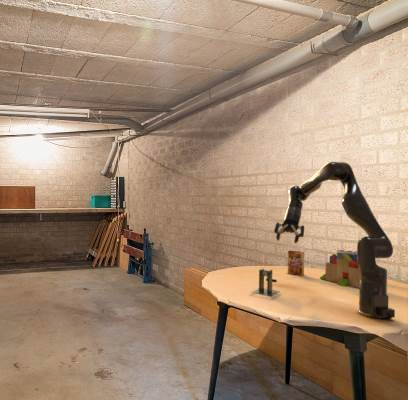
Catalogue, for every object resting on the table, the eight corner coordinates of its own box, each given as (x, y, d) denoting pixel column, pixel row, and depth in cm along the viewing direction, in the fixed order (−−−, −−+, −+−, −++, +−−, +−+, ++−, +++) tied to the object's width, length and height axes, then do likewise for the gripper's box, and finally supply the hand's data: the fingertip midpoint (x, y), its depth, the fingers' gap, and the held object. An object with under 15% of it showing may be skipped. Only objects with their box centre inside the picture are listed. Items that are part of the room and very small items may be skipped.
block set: (315, 279, 210) (316, 247, 210) (331, 277, 215) (332, 246, 215) (363, 291, 184) (364, 255, 184) (381, 288, 189) (381, 253, 189)
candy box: (287, 273, 226) (287, 250, 226) (289, 272, 229) (289, 249, 229) (302, 275, 219) (302, 252, 219) (304, 274, 222) (304, 251, 222)
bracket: (259, 290, 183) (260, 266, 183) (280, 294, 176) (280, 269, 176) (250, 295, 173) (251, 270, 173) (271, 299, 166) (272, 273, 166)
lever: (266, 282, 183) (267, 277, 183) (276, 283, 179) (277, 279, 180) (259, 273, 175) (260, 269, 176) (269, 275, 171) (270, 270, 172)
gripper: (277, 211, 195) (271, 235, 188) (306, 214, 186) (300, 239, 179) (279, 218, 200) (273, 242, 193) (307, 221, 190) (302, 246, 184)
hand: (286, 241), depth 186 cm, fingers open, 8 cm apart
